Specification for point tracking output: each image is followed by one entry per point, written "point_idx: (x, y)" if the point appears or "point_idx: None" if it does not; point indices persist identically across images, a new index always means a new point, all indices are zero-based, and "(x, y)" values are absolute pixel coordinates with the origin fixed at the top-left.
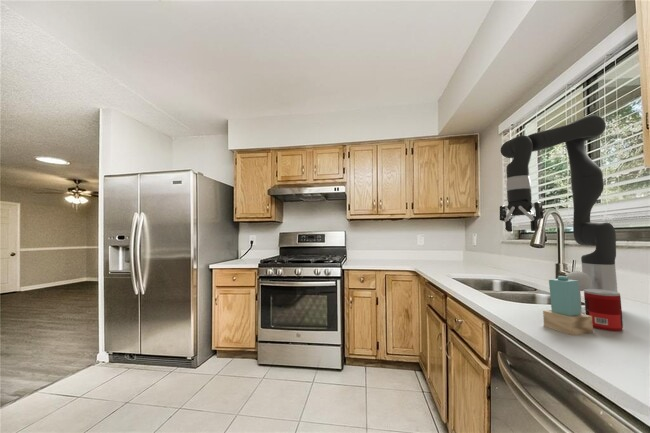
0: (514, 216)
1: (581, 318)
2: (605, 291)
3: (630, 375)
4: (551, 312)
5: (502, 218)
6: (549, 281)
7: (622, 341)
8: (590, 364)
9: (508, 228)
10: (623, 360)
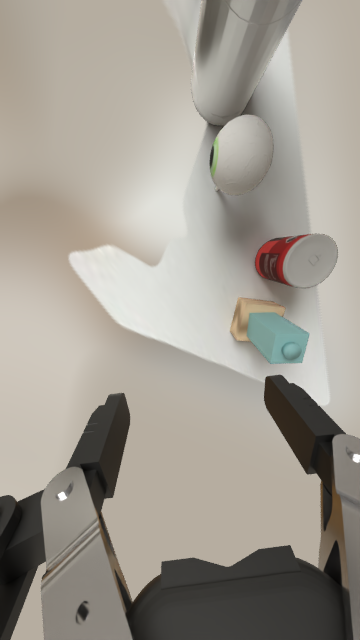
0: (105, 547)
1: None
2: (313, 243)
3: (321, 382)
4: (247, 338)
5: (36, 568)
6: (269, 361)
7: (301, 304)
8: None
9: (124, 438)
10: (312, 358)
